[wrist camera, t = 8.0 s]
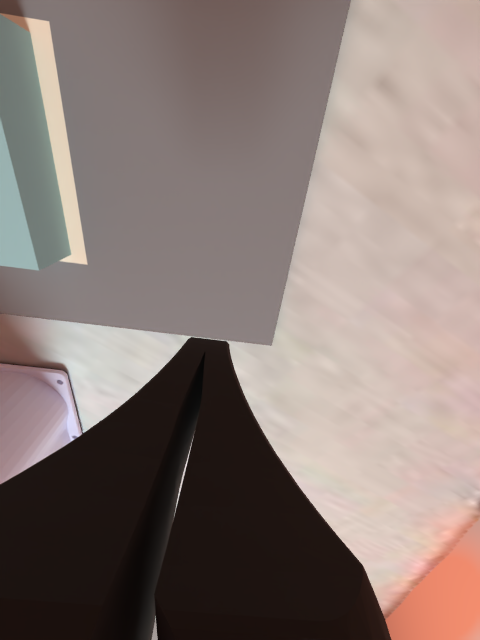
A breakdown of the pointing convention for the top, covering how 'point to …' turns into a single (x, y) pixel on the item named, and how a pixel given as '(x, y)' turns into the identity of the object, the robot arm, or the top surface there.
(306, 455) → the top surface
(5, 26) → the t block
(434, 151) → the top surface
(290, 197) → the mat
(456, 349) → the top surface
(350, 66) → the top surface
